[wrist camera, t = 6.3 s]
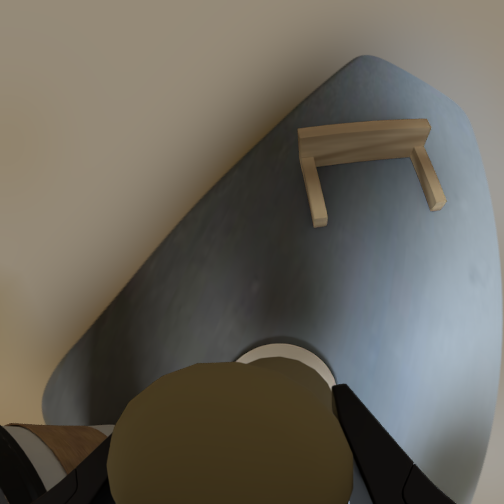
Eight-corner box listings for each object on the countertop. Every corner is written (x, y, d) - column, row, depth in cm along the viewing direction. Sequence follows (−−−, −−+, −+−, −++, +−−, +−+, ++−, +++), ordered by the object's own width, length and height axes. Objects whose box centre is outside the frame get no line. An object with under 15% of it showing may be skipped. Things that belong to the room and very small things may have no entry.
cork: (355, 380, 14) (451, 404, 4) (305, 485, 12) (290, 637, 2) (242, 338, 16) (121, 278, 5) (197, 440, 14) (43, 510, 4)
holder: (440, 210, 23) (458, 185, 19) (313, 227, 24) (314, 202, 20) (415, 147, 25) (426, 118, 21) (299, 159, 26) (297, 128, 22)
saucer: (354, 427, 18) (355, 428, 18) (246, 467, 18) (245, 469, 18) (310, 325, 21) (310, 324, 21) (205, 368, 21) (203, 368, 21)
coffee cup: (130, 393, 21) (-36, 393, 8) (185, 486, 18) (57, 579, 4) (65, 427, 21) (-78, 433, 7) (110, 509, 18) (-16, 565, 4)
